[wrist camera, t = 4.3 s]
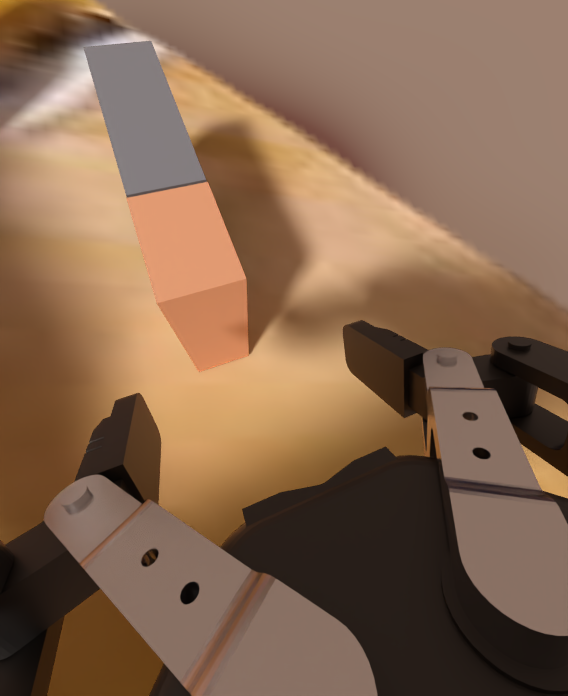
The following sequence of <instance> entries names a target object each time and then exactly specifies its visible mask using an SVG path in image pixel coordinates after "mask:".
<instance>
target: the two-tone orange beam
mask: <svg viewBox="0 0 568 696" xmlns="http://www.w3.org/2000/svg"><path fill="white" fill-rule="evenodd" d="M127 202H128V205H129V208H130V212H131V215H132V219H133V222H134V226H135V229H136V233H137V236H138V240H139V243H140V247H141V250H142V254H143V257H144V260H145V264H146V267H147V271H148V274H149V278H150V281H151V285H152V288H153V292H154V295H155V299H156V302H157V304H158V306H159V308H160V309H161V311H162V313H163V314H164V316H165V317H166V319H167V321H168V322H169V324H170V326H171V327H172V329H173V330H174V332H175V334H176V335H177V337H178V339H179V340H180V342H181V343H182V345H183V347H184V348H185V350H186V352H187V353H188V355H189V356H190V358H191V360H192V361H193V363H194V365H195V366H196V368H197V370H198V371H199V372H200V371H203V370H206V369H209V368H212V367H215V366H218V365H221V364H224V363H227V362H230V361H233V360H237V359H240V358H243V357H246V356H249V347H248V314H247V281H246V276H245V274H244V271H243V269H242V266H241V264H240V261H239V259H238V256H237V254H236V251H235V249H234V246H233V244H232V241H231V239H230V236H229V234H228V231H227V229H226V226H225V224H224V221H223V219H222V216H221V214H220V211H219V209H218V206H217V203H216V201H215V198H214V196H213V193H212V191H211V188H210V186H209V183H208V182H204V183H199V184H194V185H189V186H184V187H179V188H174V189H169V190H164V191H159V192H154V193H149V194H144V195H139V196H134V197H129V198H127Z"/></svg>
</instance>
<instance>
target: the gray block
mask: <svg viewBox="0 0 568 696" xmlns="http://www.w3.org/2000/svg"><path fill="white" fill-rule="evenodd" d="M84 51H85V54H86V58H87V61H88V65H89V68H90V72H91V75H92V78H93V82H94V85H95V89H96V92H97V96H98V99H99V103H100V106H101V110H102V113H103V117H104V120H105V123H106V127H107V130H108V134H109V137H110V141H111V144H112V148H113V151H114V155H115V158H116V161H117V165H118V168H119V172H120V175H121V179H122V182H123V186H124V189H125V193H126V196H127V198H129V197H134V196H139V195H144V194H149V193H154V192H159V191H164V190H169V189H174V188H179V187H184V186H189V185H194V184H199V183H204V182H207V181H206V178H205V175H204V173H203V170H202V168H201V165H200V163H199V160H198V158H197V155H196V153H195V150H194V148H193V145H192V143H191V140H190V138H189V135H188V133H187V130H186V128H185V125H184V123H183V120H182V118H181V115H180V113H179V110H178V108H177V105H176V102H175V100H174V97H173V95H172V92H171V90H170V87H169V85H168V82H167V80H166V77H165V75H164V72H163V70H162V67H161V65H160V62H159V60H158V57H157V55H156V52H155V50H154V47H153V45H152V42H151V41H144V42H133V43H123V44H112V45H102V46H91V47H84Z"/></svg>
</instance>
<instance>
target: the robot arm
mask: <svg viewBox="0 0 568 696" xmlns="http://www.w3.org/2000/svg"><path fill="white" fill-rule="evenodd" d="M343 338H344V348H345V357H346V363H347V366H348V368H349V370H350V371H351V373H352V374H353V375H355V376H356V377H357V378H358V379H359V380H360V381H362V382H363V383H364V384H365V385H366V386H367V387H369V388H370V389H371V390H372V391H373V392H374V393H376V394H377V395H378V396H379V397H380V398H381V399H383V400H384V401H385V402H386V403H387V404H388V405H390V406H391V407H392V408H393V409H394V410H395V411H397V412H398V413H399V414H400V415H401V416H402V417H404V418H406V417H408V416H410V415H413V414H415V413H418V414H419V415H420V416H422V420H421V424H422V434H423V444H424V454H425V456H415V455H406V456H396V457H395V456H394V455H393V454H392V453H391V452H390V451H389V449H388V448H387V447H384V448H382V449H379V450H377V451H375V452H372V453H370V454H368V455H366V456H363V457H361V458H359V459H356V460H354V461H352V462H351V463H350V464H349V465H347V466H346V467H345V468H343V469H342V470H341V471H339V472H338V473H337V474H336V475H334V476H333V477H332V478H330V479H329V480H328V481H326V482H325V483H323V484H321V485H317V486H312V487H306V488H301V489H296V490H291V491H285V492H280V493H278V494H276V495H274V496H271V497H269V498H267V499H264V500H262V501H260V502H257V503H255V504H253V505H251V506H248V507H246V508H244V509H242V510H243V515H244V519H245V523H244V524H243V525H242V526H240V527H239V528H238V529H237V530H236V531H235V532H234V533H232V534H231V535H230V536H229V538H228V539H227V540H226V541H225V542H224V543H223V544H222V546H221V547H218V546H217V545H215V544H214V543H212V542H211V541H210V540H208V539H207V538H205V537H204V536H202V535H201V534H199V533H198V532H197V531H195V530H194V529H192V528H191V527H189V526H188V525H186V524H185V523H184V522H182V521H181V520H179V519H178V518H176V517H175V516H173V515H172V514H171V513H169V512H168V511H166V510H165V509H163V508H162V507H160V506H159V505H158V500H159V479H160V458H161V438H160V433H159V430H158V428H157V425H156V423H155V421H154V419H153V417H152V415H151V413H150V411H149V409H148V407H147V405H146V403H145V401H144V399H143V397H142V395H141V394H140V393H136V394H133V395H130V396H127V397H124V398H121V399H118V400H116V401H115V404H114V407H113V410H112V413H111V416H110V417H108V418H105V419H103V420H102V421H101V422H100V424H99V425H98V426H97V427H96V428H95V429H94V431H93V433H92V436H91V438H90V441H89V442H90V444H88V447H87V449H86V453H85V455H84V457H83V460H82V463H81V465H80V468H79V471H78V474H77V476H76V479H75V482H74V483H72V484H70V485H69V486H67V487H66V488H65V489H63V490H62V491H61V492H60V493H59V494H58V495H57V496H56V497H55V498H54V499H53V500H52V501H51V502H50V504H49V505H48V507H47V509H46V511H45V513H44V521H43V522H42V523H40V524H39V525H37V526H36V527H34V528H32V529H31V530H29V531H27V532H26V533H24V534H22V535H21V536H19V537H17V538H16V539H14V540H12V541H11V542H9V543H7V544H6V545H5V544H4V543H3V542H2V541H1V540H0V696H47V693H48V688H49V683H50V679H51V674H52V670H53V665H54V661H55V656H56V651H57V647H58V642H59V638H60V633H61V629H62V624H63V619H64V615H66V614H67V613H68V612H70V611H71V610H72V609H74V608H75V607H76V606H78V605H79V604H80V603H82V602H83V601H84V600H86V599H87V598H88V597H89V596H91V595H92V594H93V593H95V592H96V591H97V590H99V589H100V588H101V590H102V591H103V592H104V593H105V594H106V596H107V597H108V598H109V599H110V600H111V601H112V603H113V604H114V605H115V606H116V607H117V608H118V610H119V611H120V612H121V613H122V614H123V615H124V617H125V618H126V619H127V620H128V621H129V623H130V624H131V625H132V626H133V627H134V628H135V630H136V631H137V632H138V633H139V634H140V635H141V637H142V638H143V639H144V640H145V641H146V643H147V644H148V645H149V646H150V647H151V648H152V650H153V651H154V652H155V653H156V654H157V655H158V657H159V658H160V659H161V660H162V661H163V662H164V664H163V666H162V669H161V671H160V673H159V675H158V677H157V679H156V682H155V684H154V686H153V688H152V690H151V693H150V695H149V696H568V498H564V497H561V496H558V495H554V494H551V493H548V492H545V491H542V489H541V488H540V486H539V484H538V481H537V479H536V477H535V475H534V473H533V470H532V468H531V466H530V464H529V462H528V459H527V457H526V455H525V453H524V451H523V448H522V446H521V444H522V445H523V446H525V447H526V448H528V449H529V450H531V451H532V452H533V453H535V454H536V455H538V456H539V457H541V458H542V459H543V460H545V461H546V462H548V463H549V464H551V465H552V466H553V467H555V468H556V469H558V470H559V471H561V472H562V473H563V474H565V475H566V476H568V421H566V420H564V419H562V418H560V417H559V416H557V415H555V414H553V413H551V412H550V411H548V410H546V409H544V408H542V407H540V406H539V405H537V404H535V399H536V394H537V390H538V387H539V388H541V389H543V390H545V391H547V392H549V393H551V394H553V395H555V396H557V397H559V398H561V399H562V400H564V401H565V402H566V403H567V404H568V352H567V351H564V350H562V349H559V348H556V347H553V346H551V345H548V344H545V343H543V342H540V341H537V340H534V339H530V338H525V337H503V338H499V339H497V340H495V341H494V342H493V343H492V349H491V354H490V355H483V356H476V357H471V356H470V355H469V354H468V353H467V352H465V351H462V350H459V349H455V348H435V349H431V350H427V349H425V348H423V347H421V346H419V345H417V344H416V343H414V342H412V341H410V340H408V339H407V340H406V339H405V338H404V337H402V336H400V335H399V336H398V334H396V333H394V332H392V331H390V330H387V329H382V328H378V327H374V326H372V325H370V324H369V323H367V322H365V321H363V320H360V321H357V322H354V323H351V324H348V325H345V326H344V327H343ZM520 443H521V444H520Z"/></svg>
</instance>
